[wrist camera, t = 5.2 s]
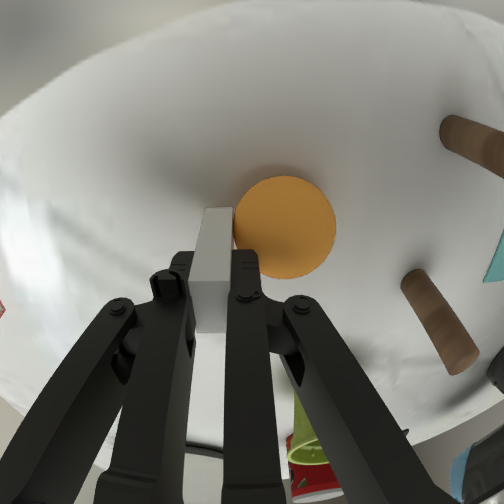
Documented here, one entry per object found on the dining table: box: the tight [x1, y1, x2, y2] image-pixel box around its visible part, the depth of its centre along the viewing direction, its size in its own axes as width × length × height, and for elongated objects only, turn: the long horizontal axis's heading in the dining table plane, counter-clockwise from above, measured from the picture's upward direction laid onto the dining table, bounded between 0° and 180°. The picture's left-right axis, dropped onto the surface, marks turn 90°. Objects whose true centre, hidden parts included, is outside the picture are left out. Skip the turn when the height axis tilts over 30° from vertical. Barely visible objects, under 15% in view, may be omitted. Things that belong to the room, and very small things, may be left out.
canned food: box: [286, 434, 344, 503], centre depth 33 cm, size 8×8×11 cm
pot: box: [183, 446, 223, 504], centre depth 37 cm, size 33×23×14 cm
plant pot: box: [287, 390, 329, 465], centre depth 25 cm, size 9×9×9 cm
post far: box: [401, 269, 480, 375], centre depth 18 cm, size 3×3×9 cm
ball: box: [233, 176, 336, 279], centre depth 16 cm, size 6×6×6 cm
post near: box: [440, 115, 504, 179], centre depth 11 cm, size 3×3×9 cm
